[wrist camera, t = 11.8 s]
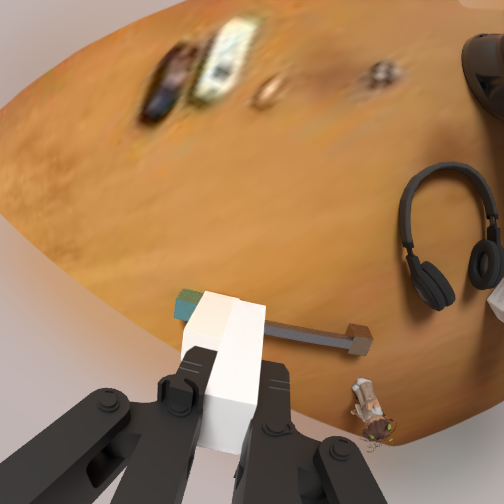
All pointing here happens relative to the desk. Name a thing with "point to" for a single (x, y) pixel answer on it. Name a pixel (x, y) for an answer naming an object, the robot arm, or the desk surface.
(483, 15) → the desk surface
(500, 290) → the skincare box
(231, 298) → the sleeve
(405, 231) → the headphones
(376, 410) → the toy
